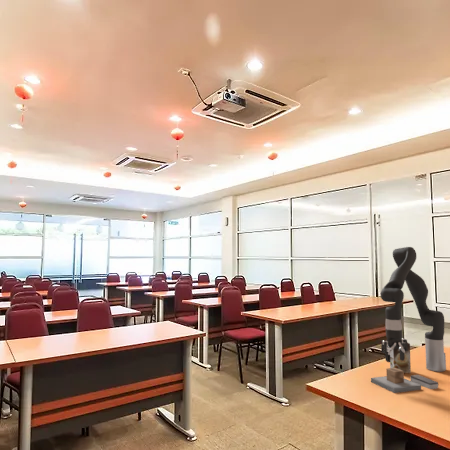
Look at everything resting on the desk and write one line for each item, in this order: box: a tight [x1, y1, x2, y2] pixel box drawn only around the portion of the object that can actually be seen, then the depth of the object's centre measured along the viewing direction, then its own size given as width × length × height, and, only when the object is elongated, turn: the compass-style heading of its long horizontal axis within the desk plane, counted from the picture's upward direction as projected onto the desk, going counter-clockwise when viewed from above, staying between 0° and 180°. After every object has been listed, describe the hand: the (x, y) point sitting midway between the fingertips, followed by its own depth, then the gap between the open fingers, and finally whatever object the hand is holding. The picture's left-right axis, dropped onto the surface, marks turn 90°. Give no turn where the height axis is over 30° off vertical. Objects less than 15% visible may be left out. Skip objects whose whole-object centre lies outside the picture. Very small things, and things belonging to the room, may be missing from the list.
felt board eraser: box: [409, 374, 439, 390], centre depth 184 cm, size 12×5×3 cm, turn 19°
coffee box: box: [389, 341, 412, 374], centre depth 206 cm, size 9×6×16 cm
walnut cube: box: [386, 367, 405, 384], centre depth 182 cm, size 6×6×6 cm
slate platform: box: [370, 375, 422, 394], centre depth 182 cm, size 16×16×2 cm
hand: (395, 361), depth 183 cm, fingers open, 8 cm apart
